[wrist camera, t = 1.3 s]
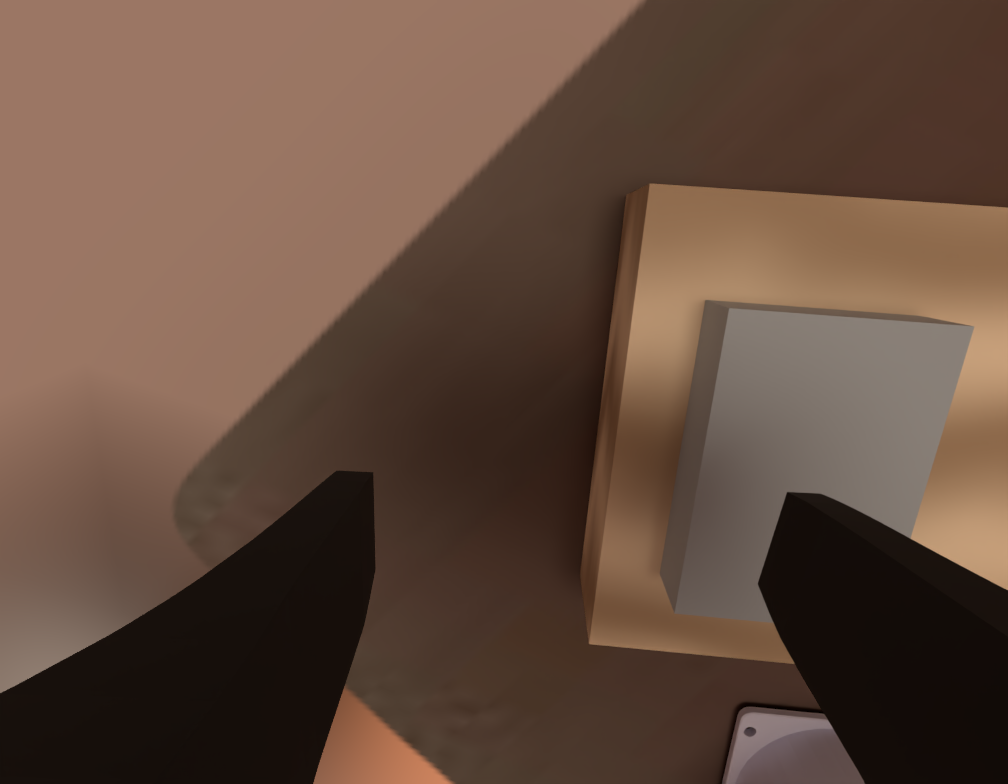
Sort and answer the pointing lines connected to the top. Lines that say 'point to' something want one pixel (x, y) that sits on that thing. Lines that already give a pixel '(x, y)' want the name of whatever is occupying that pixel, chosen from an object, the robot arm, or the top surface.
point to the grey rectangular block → (799, 435)
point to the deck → (788, 282)
